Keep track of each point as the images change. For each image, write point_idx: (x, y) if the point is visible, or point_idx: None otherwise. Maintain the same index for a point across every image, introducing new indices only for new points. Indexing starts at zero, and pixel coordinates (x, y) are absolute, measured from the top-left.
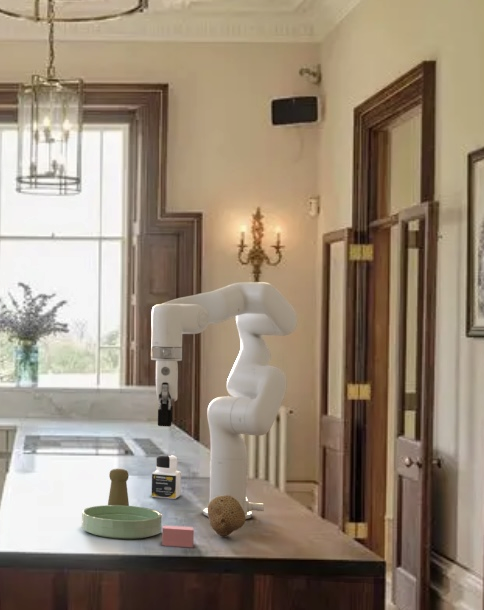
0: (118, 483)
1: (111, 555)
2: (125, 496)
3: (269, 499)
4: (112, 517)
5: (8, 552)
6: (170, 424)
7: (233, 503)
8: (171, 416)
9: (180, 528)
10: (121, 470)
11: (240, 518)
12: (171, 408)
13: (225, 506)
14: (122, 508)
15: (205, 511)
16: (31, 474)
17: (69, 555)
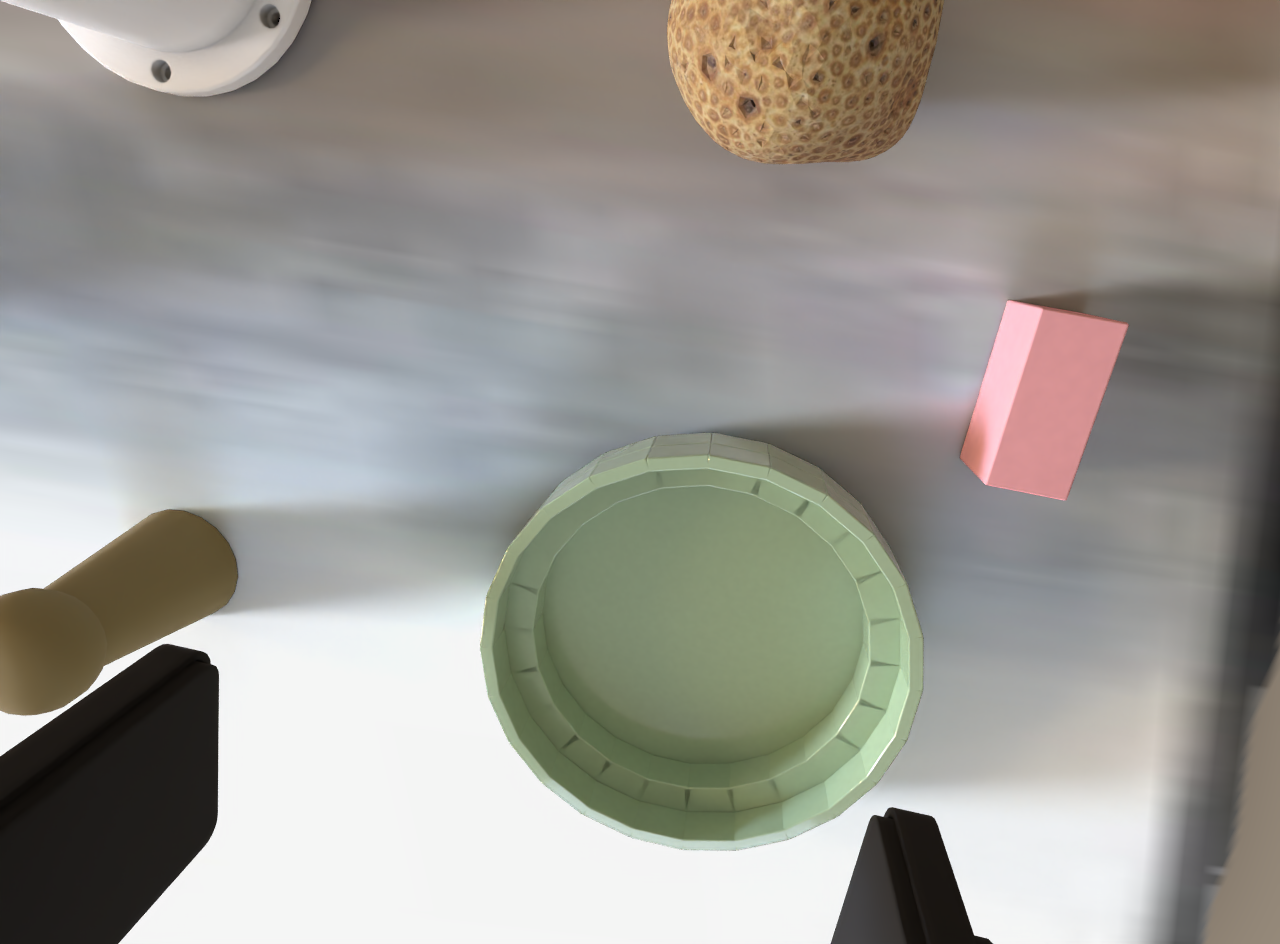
0: (111, 638)
1: (1226, 735)
2: (157, 564)
3: None
4: (542, 658)
5: None
6: (932, 840)
7: None
8: (149, 722)
9: (1077, 397)
10: (27, 661)
11: None
12: (2, 847)
13: (919, 30)
14: (498, 628)
15: (207, 86)
16: None
17: (1207, 897)
